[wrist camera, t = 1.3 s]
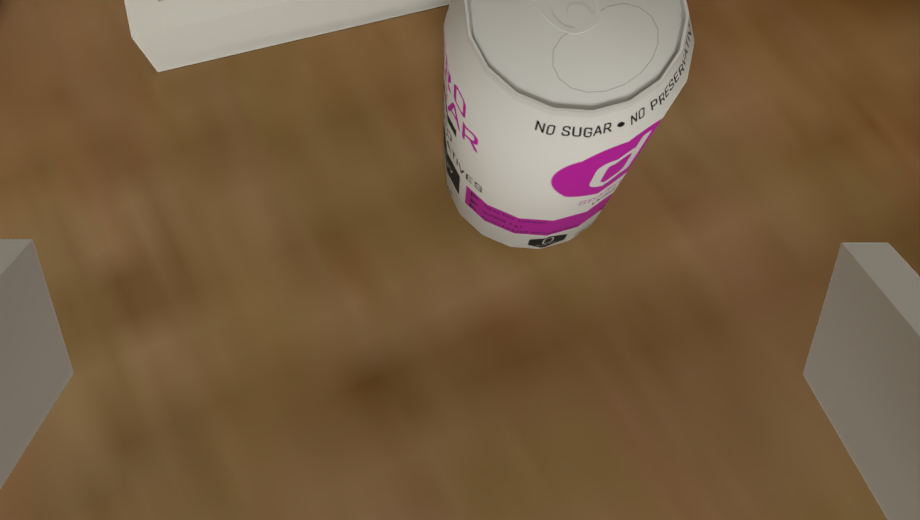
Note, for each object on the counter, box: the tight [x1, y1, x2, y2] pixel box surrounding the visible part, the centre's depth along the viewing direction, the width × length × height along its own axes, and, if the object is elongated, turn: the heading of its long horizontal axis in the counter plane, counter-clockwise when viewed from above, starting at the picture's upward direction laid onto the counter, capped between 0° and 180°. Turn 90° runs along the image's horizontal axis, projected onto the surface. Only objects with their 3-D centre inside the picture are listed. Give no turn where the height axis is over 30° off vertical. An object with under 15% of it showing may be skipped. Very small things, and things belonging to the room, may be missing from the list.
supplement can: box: [444, 0, 694, 249], centre depth 32 cm, size 8×8×15 cm
